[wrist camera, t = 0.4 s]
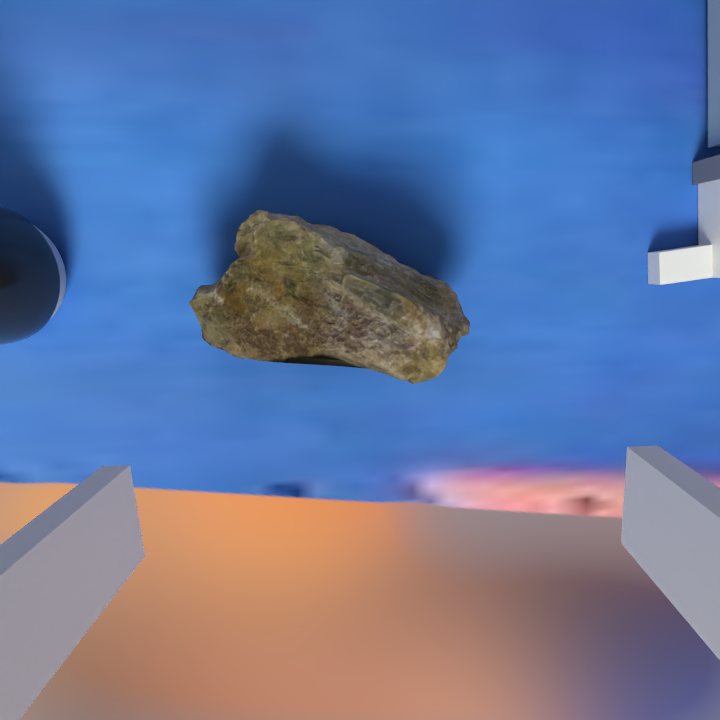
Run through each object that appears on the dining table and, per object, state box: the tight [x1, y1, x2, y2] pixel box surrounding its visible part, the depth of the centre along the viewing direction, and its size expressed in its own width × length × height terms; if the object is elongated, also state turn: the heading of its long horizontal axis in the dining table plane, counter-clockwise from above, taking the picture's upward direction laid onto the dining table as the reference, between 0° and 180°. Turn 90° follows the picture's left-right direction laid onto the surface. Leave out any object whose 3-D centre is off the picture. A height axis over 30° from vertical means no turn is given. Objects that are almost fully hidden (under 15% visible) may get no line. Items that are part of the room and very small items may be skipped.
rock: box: [189, 210, 470, 384], centre depth 35 cm, size 19×10×10 cm
